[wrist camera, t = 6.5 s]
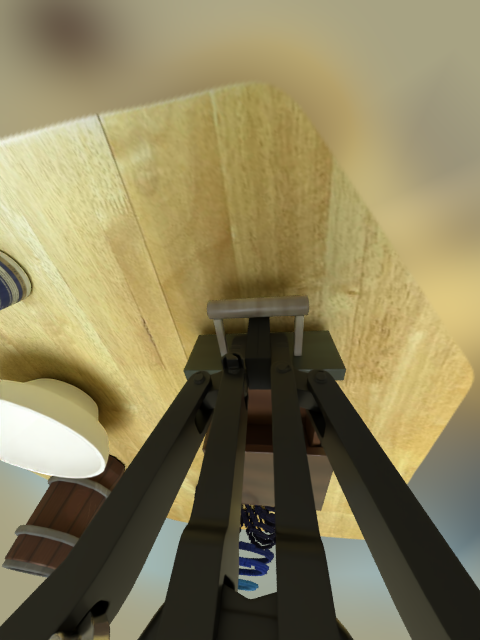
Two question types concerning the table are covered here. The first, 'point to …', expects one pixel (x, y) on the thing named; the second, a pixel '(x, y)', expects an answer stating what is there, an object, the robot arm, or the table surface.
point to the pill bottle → (12, 282)
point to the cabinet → (262, 474)
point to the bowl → (51, 429)
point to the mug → (60, 520)
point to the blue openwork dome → (256, 547)
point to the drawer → (303, 345)
